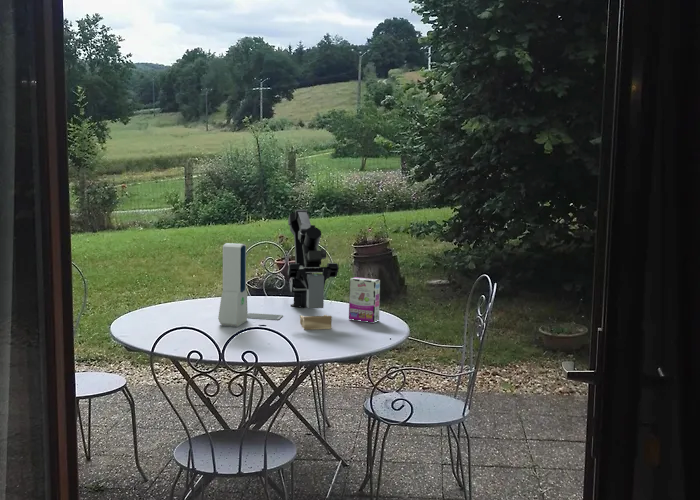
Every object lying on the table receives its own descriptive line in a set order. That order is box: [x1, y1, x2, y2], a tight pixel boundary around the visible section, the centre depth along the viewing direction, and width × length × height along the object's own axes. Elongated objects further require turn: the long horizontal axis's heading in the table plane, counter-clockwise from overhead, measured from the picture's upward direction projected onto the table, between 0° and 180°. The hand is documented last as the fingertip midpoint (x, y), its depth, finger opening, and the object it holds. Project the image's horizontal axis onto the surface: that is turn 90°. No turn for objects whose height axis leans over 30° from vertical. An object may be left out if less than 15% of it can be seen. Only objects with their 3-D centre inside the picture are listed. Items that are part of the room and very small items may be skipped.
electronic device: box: [217, 242, 249, 328], centre depth 278 cm, size 12×8×30 cm, turn 168°
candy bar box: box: [348, 276, 381, 323], centre depth 288 cm, size 11×5×16 cm, turn 62°
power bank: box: [307, 273, 325, 310], centre depth 278 cm, size 5×6×12 cm
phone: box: [247, 312, 284, 321], centre depth 291 cm, size 7×14×1 cm, turn 81°
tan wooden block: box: [299, 314, 333, 331], centre depth 278 cm, size 10×10×5 cm
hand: (315, 288), depth 277 cm, fingers closed on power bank, 5 cm apart
